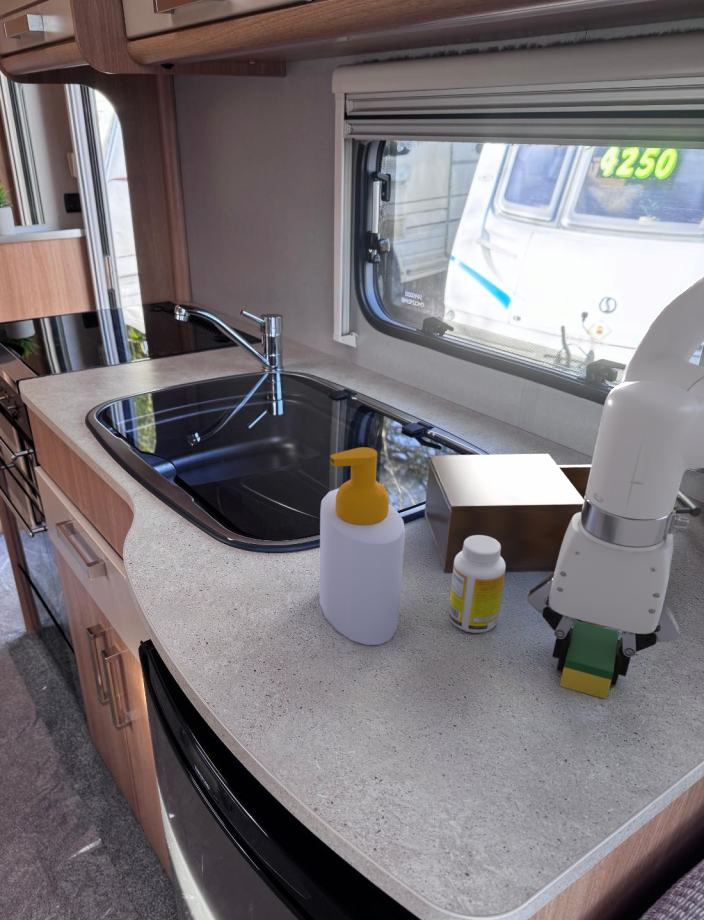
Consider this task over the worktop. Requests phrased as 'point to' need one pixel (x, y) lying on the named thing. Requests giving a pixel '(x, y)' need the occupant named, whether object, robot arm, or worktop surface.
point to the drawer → (580, 480)
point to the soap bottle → (361, 553)
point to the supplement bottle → (477, 585)
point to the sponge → (590, 659)
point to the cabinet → (500, 507)
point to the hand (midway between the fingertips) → (587, 668)
